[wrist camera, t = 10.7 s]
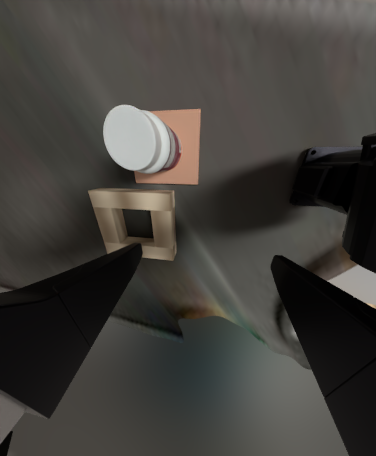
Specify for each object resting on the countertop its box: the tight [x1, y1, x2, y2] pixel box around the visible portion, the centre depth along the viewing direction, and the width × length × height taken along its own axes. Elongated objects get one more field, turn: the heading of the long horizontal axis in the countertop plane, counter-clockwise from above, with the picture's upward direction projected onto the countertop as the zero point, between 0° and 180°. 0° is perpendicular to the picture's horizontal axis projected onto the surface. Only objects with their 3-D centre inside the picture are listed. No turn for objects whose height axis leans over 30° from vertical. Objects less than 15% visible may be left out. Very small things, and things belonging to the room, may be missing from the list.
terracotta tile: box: [134, 109, 201, 185], centre depth 17 cm, size 9×8×1 cm
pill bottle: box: [103, 105, 182, 174], centre depth 13 cm, size 5×5×8 cm
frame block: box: [88, 188, 177, 261], centre depth 22 cm, size 12×11×2 cm
